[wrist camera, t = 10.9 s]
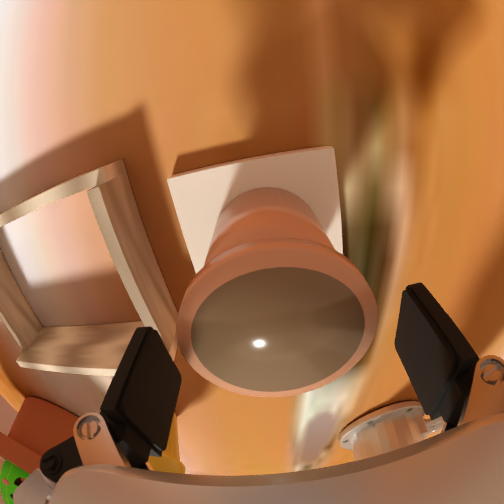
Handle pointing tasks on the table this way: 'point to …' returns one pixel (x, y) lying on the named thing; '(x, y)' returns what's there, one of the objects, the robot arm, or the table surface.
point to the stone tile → (251, 177)
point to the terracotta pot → (274, 301)
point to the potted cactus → (31, 441)
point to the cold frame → (128, 266)
